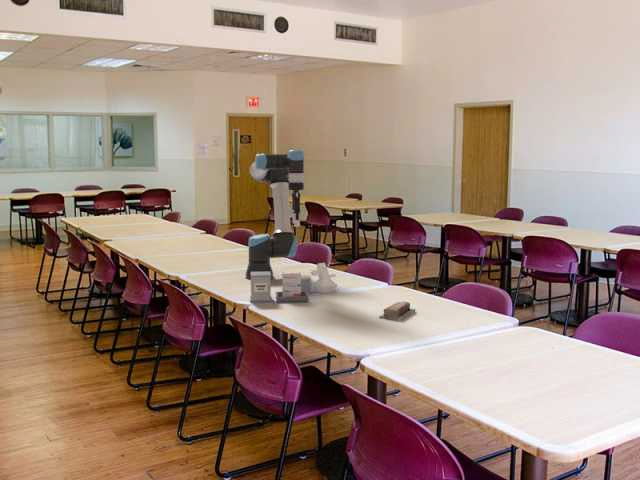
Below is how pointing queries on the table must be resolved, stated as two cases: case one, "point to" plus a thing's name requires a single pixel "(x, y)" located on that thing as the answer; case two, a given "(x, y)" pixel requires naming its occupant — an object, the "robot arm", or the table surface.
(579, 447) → the table surface
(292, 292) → the ink box
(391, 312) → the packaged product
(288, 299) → the tray
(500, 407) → the table surface
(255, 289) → the unit
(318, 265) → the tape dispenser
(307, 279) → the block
